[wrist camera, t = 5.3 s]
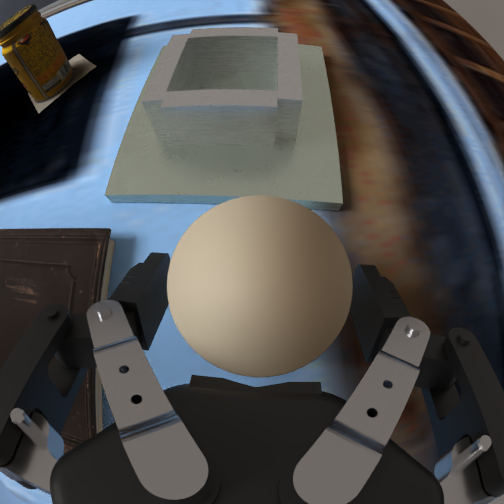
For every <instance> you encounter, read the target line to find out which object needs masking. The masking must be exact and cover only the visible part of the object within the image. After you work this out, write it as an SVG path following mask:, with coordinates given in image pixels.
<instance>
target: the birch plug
mask: <svg viewBox="0 0 504 504" xmlns="http://www.w3.org/2000/svg"><path fill="white" fill-rule="evenodd" d="M352 290H353V282H352V272H351V267H350V263H349V259H348V257H347V254H346V251H345V249H344V247H343V245H342V243H341V241H340V240H339V238H338V237H337V235H336V234H335V232H334V231H333V230H332V229H331V227H330V226H329V225H328V224H327V223H326V222H325V221H324V220H323V219H322V218H320V217H319V216H318V215H317V214H315V213H314V212H313V211H311V210H310V209H308V208H306V207H304V206H302V205H300V204H298V203H296V202H293V201H291V200H288V199H284V198H280V197H275V196H266V195H253V196H245V197H240V198H236V199H232V200H229V201H226V202H224V203H221V204H219V205H217V206H215V207H213V208H212V209H210V210H208V211H207V212H206V213H204V214H203V215H201V216H200V217H199V218H198V219H197V220H196V221H195V222H194V223H192V225H191V226H190V227H189V228H188V229H187V230H186V232H185V233H184V234H183V236H182V238H181V239H180V241H179V242H178V244H177V246H176V248H175V250H174V253H173V256H172V259H171V262H170V265H169V271H168V277H167V294H168V302H169V307H170V311H171V314H172V317H173V319H174V322H175V324H176V326H177V328H178V330H179V332H180V333H181V335H182V336H183V338H184V339H185V340H186V342H187V343H188V344H189V345H190V346H191V348H192V349H193V350H194V351H195V352H196V353H197V354H199V355H200V356H201V357H202V358H204V359H205V360H206V361H208V362H210V363H211V364H213V365H215V366H216V367H218V368H221V369H223V370H225V371H228V372H231V373H234V374H238V375H242V376H250V377H271V376H277V375H282V374H286V373H289V372H292V371H295V370H297V369H299V368H301V367H304V366H305V365H307V364H309V363H310V362H312V361H313V360H315V359H316V358H317V357H319V356H320V355H321V354H322V353H323V352H325V351H326V350H327V348H328V347H329V346H330V345H331V344H332V343H333V342H334V340H335V339H336V337H337V336H338V334H339V333H340V331H341V329H342V327H343V325H344V323H345V321H346V319H347V316H348V313H349V310H350V305H351V300H352Z"/></svg>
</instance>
